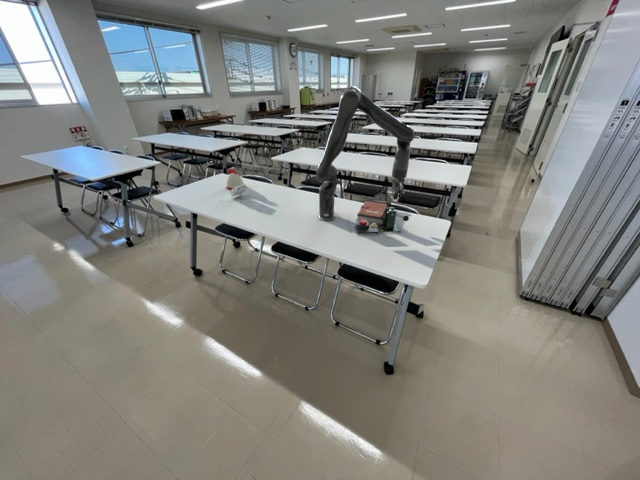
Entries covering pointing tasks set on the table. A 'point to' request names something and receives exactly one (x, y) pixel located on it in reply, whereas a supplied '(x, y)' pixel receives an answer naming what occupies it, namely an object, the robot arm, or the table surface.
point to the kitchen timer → (233, 180)
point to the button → (363, 222)
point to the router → (238, 190)
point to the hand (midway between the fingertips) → (394, 198)
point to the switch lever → (402, 216)
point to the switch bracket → (389, 221)
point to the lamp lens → (373, 225)
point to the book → (373, 211)
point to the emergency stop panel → (365, 228)
